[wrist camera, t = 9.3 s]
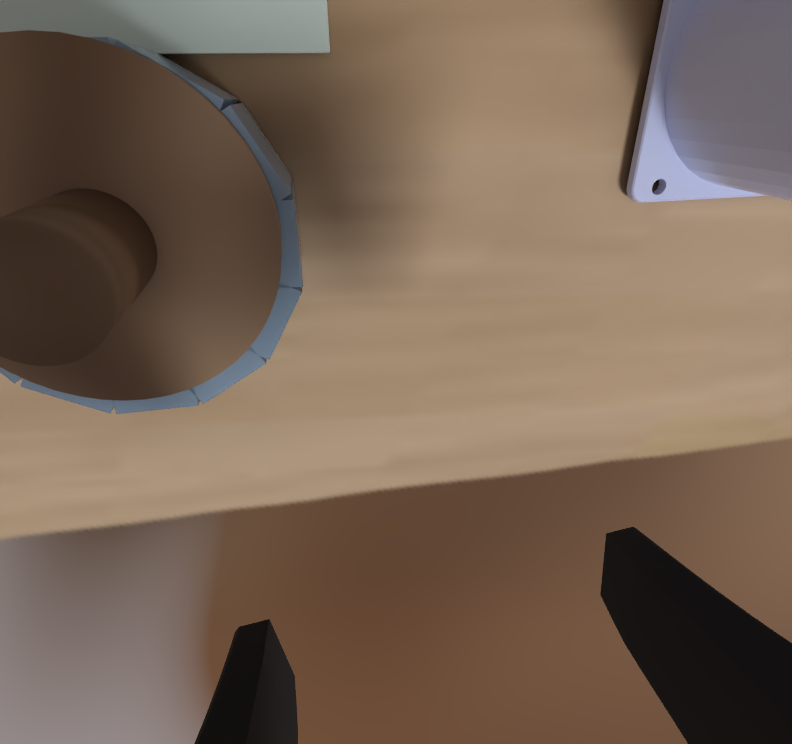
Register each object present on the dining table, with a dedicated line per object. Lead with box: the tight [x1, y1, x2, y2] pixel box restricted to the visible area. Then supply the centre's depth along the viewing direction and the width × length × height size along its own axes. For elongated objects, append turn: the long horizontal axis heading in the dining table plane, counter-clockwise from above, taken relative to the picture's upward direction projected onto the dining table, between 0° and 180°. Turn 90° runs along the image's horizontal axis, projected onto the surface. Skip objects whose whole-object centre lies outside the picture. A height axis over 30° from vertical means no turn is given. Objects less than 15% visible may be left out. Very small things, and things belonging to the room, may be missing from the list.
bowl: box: [0, 37, 303, 414], centre depth 14 cm, size 9×9×4 cm
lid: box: [0, 30, 282, 401], centre depth 11 cm, size 8×8×4 cm
